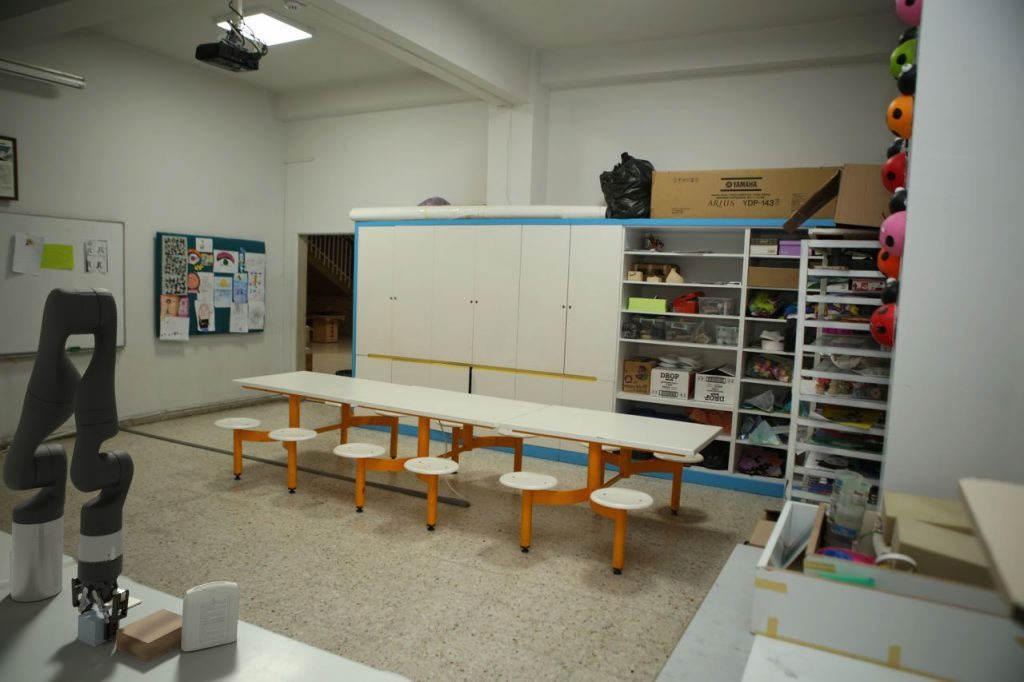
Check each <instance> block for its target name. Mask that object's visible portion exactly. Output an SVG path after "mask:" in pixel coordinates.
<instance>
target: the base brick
mask: <svg viewBox="0 0 1024 682" xmlns="http://www.w3.org/2000/svg"><path fill="white" fill-rule="evenodd" d="M182 616H183V614H179V613H177V612H173V611H171V610H168V609H165V608H161V609H159V610H158V611H155V612H152V613H150V614H148V615H146V616H144V617H142V618H140V619H137V620H136V621H133V622H131V623H129V624H127V625H125V626H123V627H121V628H120V627H119V629H118V630H117V631H116V637H115V638H116V639H115V640H116V641H115V649H116V650H119V651H121V652H124V653H125V654H128V655H131V656H133V657H135V658H138V659H140V660H142V661H145V662H148V663H149V662H150V661H152V660H154V659H157V658H158V657H160V656H161V655H163V654H166V653H167V652H169V651H171V650H173V649H175V648H177V647H178V646H181V636H182Z"/></svg>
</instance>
